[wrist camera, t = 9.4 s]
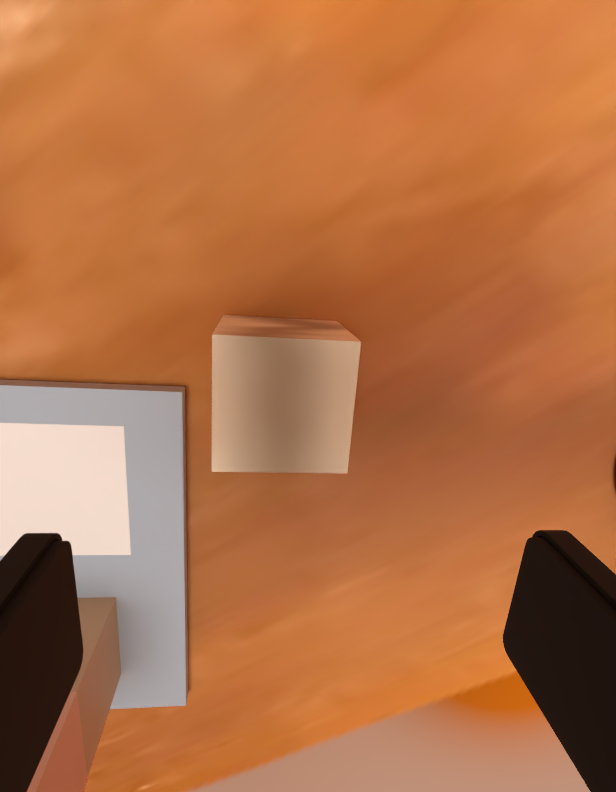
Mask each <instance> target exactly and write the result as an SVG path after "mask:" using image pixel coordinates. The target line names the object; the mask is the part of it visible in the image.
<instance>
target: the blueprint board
mask: <svg viewBox="0 0 616 792" xmlns="http://www.w3.org/2000/svg"><path fill="white" fill-rule="evenodd" d="M26 533H58V534H60V536H61V537H62V541H69V542H70V544H71V547H72V556H73V564H74V573H75V581H76V590H77V598H78V607H79V615H80V624H81V632H82V641H83V660H82V664H81V668H80V671H79V673H78V676H77V678H76V680H75V682H74V685H73V687H72V689H71V692H77V696H78V705H79V713H80V721H81V729H82V737H83V746H84V754H85V762H86V770H87V777H88V774H89V771H90V768H91V765H92V762H93V759H94V756H95V753H96V750H97V747H98V744H99V741H100V738H101V734H102V731H103V728H104V725H105V722H106V719H107V716H108V713H109V710H110V709H122V708H143V707H165V706H186V703H187V697H188V614H187V518H186V423H185V387H183V386H158V385H133V384H107V383H82V382H57V381H32V380H6V379H0V561H1V559H2V558H3V557H4V556H5V555H6V553H7V552H8V551H9V550H10V549H11V548H12V546H13V545H14V544H15V543H16V542H17V541H18V539H19V538H20V537H21V536H22V535H23V534H26Z"/></svg>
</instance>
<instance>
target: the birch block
mask: <svg viewBox="0 0 616 792" xmlns="http://www.w3.org/2000/svg"><path fill="white" fill-rule="evenodd" d="M360 348H361V341H360V340H359V339H357V338H356V337H355V336H354V335H353V334H352V333H351V332H349V331H348V330H347V329H346V328H345V327H344V326H343V325H341V324H340V323H339V322H338V321H334V320H315V319H297V318H278V317H260V316H242V315H223V316H222V318H221V320H220V322H219V323H218V325H217V327H216V329H215V330H214V332H213V334H212V472H281V473H347V471H348V462H349V452H350V443H351V433H352V424H353V415H354V405H355V396H356V386H357V377H358V367H359V358H360Z"/></svg>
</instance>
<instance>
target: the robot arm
mask: <svg viewBox="0 0 616 792" xmlns="http://www.w3.org/2000/svg"><path fill="white" fill-rule="evenodd" d="M503 643H504V648H505V651H506V653H507V655H508V657H509V658H510V660H511V662H512V663H513V665H514V667H515V668H516V670H517V672H518V673H519V675H520V676H521V678H522V680H523V681H524V683H525V685H526V686H527V688H528V690H529V691H530V693H531V694H532V696H533V698H534V699H535V701H536V703H537V704H538V706H539V708H540V709H541V711H542V712H543V714H544V716H545V717H546V719H547V721H548V722H549V724H550V726H551V727H552V729H553V731H554V732H555V734H556V736H557V737H558V739H559V740H560V742H561V744H562V745H563V747H564V749H565V750H566V752H567V754H568V755H569V757H570V759H571V760H572V762H573V763H574V765H575V767H576V768H577V770H578V772H579V773H580V775H581V776H582V778H583V780H584V781H585V783H586V784H587V786H588V788H589V790H590V791H591V792H616V575H615V574H614V573H613V572H612V571H611V570H610V569H609V568H608V567H607V566H606V565H605V564H603V563H602V562H601V561H600V560H599V559H598V558H597V557H596V556H595V555H594V554H592V553H591V552H590V551H589V550H588V549H587V548H586V547H585V546H584V545H583V544H581V543H580V542H579V541H578V540H577V539H576V538H575V537H574V536H573V535H572V534H570V533H569V532H567V531H564V530H540V531H536V532H535V533H534V535H533V537H532V538H529V539H528V540H527V542H526V545H525V549H524V553H523V557H522V561H521V565H520V569H519V573H518V577H517V581H516V585H515V589H514V593H513V598H512V602H511V606H510V610H509V614H508V618H507V622H506V626H505V630H504V634H503ZM82 660H83V641H82V632H81V624H80V615H79V607H78V598H77V590H76V581H75V573H74V564H73V556H72V547H71V544H70V542H69V541H62V537H61V536H60V534H58V533H26V534H23V535H22V536H21V537H20V538H19V539H18V541H17V542H16V543H15V544H14V545H13V546H12V548H11V549H10V550H9V551H8V552H7V553H6V555H5V556H4V557H3V558H2V559H1V561H0V792H27V790H28V788H29V786H30V783H31V781H32V779H33V776H34V774H35V772H36V770H37V767H38V765H39V763H40V760H41V758H42V756H43V753H44V751H45V749H46V747H47V744H48V742H49V740H50V737H51V735H52V733H53V731H54V728H55V726H56V724H57V721H58V719H59V717H60V715H61V712H62V710H63V708H64V705H65V703H66V701H67V699H68V696H69V694H70V692H71V689H72V687H73V685H74V682H75V680H76V678H77V676H78V673H79V671H80V668H81V664H82Z"/></svg>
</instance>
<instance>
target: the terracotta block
mask: <svg viewBox="0 0 616 792" xmlns="http://www.w3.org/2000/svg"><path fill="white" fill-rule="evenodd" d="M87 780H88V779H87V770H86V762H85V754H84V746H83V737H82V729H81V721H80V713H79V705H78V696H77V692H70V694H69V696H68V699H67V701H66V703H65V705H64V708H63V710H62V712H61V715H60V717H59V719H58V721H57V724H56V726H55V728H54V731H53V733H52V735H51V737H50V740H49V742H48V744H47V747H46V749H45V751H44V753H43V756H42V758H41V760H40V763H39V765H38V767H37V770H36V772H35V774H34V776H33V779H32V781H31V783H30V786H29V788H28V790H27V792H84V790H85V786H86V783H87Z"/></svg>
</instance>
